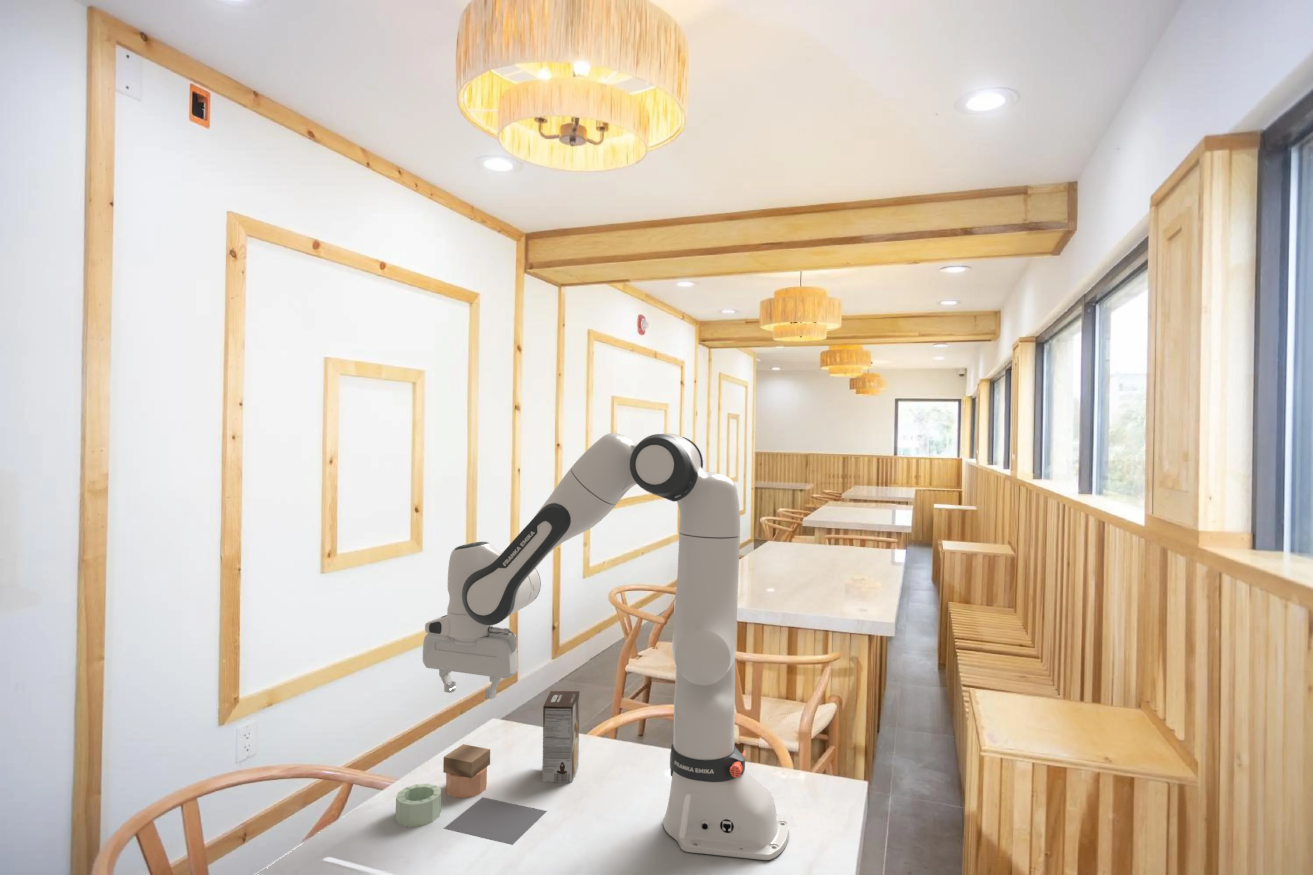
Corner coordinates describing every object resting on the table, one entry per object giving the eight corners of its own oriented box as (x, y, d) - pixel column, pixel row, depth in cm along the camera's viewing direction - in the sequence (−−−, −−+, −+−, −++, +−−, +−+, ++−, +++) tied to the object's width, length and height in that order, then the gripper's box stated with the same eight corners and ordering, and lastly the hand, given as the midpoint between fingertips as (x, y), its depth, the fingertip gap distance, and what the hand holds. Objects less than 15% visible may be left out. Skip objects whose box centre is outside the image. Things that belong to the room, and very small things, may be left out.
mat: (546, 814, 135) (547, 810, 135) (512, 847, 124) (512, 844, 124) (482, 800, 140) (482, 796, 140) (443, 831, 128) (443, 827, 128)
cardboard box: (490, 764, 145) (490, 749, 145) (471, 777, 139) (471, 762, 139) (462, 758, 147) (463, 743, 147) (443, 772, 141) (443, 756, 141)
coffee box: (549, 764, 155) (550, 689, 155) (578, 765, 155) (580, 690, 155) (541, 785, 146) (542, 705, 146) (573, 785, 146) (574, 705, 146)
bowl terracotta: (493, 785, 145) (494, 763, 146) (471, 803, 138) (472, 779, 138) (461, 778, 148) (462, 756, 148) (438, 796, 141) (438, 772, 141)
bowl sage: (448, 812, 135) (449, 788, 135) (422, 832, 128) (422, 807, 128) (414, 804, 138) (415, 780, 138) (387, 824, 130) (387, 799, 130)
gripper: (524, 625, 143) (524, 695, 143) (437, 616, 150) (437, 683, 150) (507, 633, 137) (507, 706, 137) (417, 623, 144) (417, 693, 144)
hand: (469, 694), depth 143 cm, fingers open, 8 cm apart
